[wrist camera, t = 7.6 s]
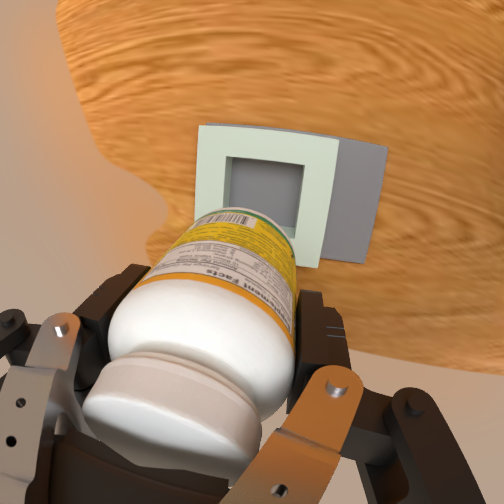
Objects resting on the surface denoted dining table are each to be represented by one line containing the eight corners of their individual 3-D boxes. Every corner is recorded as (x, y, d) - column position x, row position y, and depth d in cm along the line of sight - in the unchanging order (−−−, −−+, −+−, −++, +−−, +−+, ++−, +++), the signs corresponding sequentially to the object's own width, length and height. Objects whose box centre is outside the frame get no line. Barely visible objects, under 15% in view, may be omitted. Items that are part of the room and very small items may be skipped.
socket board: (208, 122, 26) (196, 122, 23) (385, 146, 25) (399, 149, 21) (202, 238, 31) (191, 253, 27) (362, 260, 30) (370, 277, 26)
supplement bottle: (234, 179, 12) (98, 314, 3) (321, 263, 13) (346, 470, 4) (162, 259, 14) (40, 409, 5) (241, 327, 15) (194, 502, 6)
